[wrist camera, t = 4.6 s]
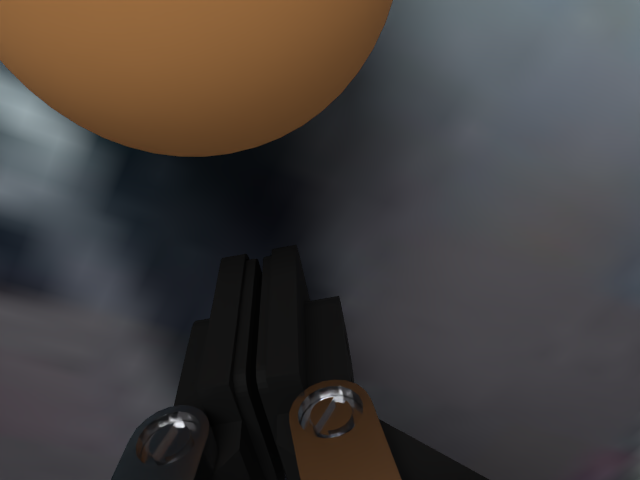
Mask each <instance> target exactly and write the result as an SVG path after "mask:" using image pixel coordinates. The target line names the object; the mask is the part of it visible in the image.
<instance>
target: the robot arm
mask: <svg viewBox="0 0 640 480" xmlns="http://www.w3.org/2000/svg"><path fill="white" fill-rule="evenodd" d="M285 474H286V477H287V480H489V479H487V478H485V477H483V476H481V475H480V474H478V473H476V472H474V471H472V470H471V469H469V468H467V467H465V466H463V465H461V464H460V463H458V462H456V461H454V460H452V459H451V458H449V457H447V456H445V455H443V454H441V453H440V452H438V451H436V450H434V449H432V448H430V447H429V446H427V445H425V444H423V443H421V442H420V441H418V440H416V439H414V438H412V437H410V436H409V435H407V434H405V433H403V432H401V431H400V430H398V429H396V428H394V427H392V426H390V425H389V424H387V423H385V422H383V421H381V420H379V419H378V416H377V414H376V411H375V409H374V406H373V403H372V401H371V399H370V397H369V395H368V394H367V392H366V391H365V390H364V389H363V388H361V387H360V386H359V385H357V384H355V383H354V377H353V370H352V363H351V356H350V350H349V344H348V338H347V333H346V327H345V322H344V317H343V312H342V307H341V302H340V298H339V296H336V297H331V298H325V299H319V300H313V301H310V299H309V294H308V290H307V286H306V282H305V277H304V273H303V269H302V264H301V260H300V256H299V252H298V248H297V246H296V245H293V246H287V247H282V248H276V249H272V254H271V256H268V257H264V259H263V272H261V268H260V265H259V262H258V259H251V260H249V257H248V255H247V254H243V255H237V256H231V257H226V258H222V259H221V263H220V268H219V274H218V279H217V284H216V289H215V295H214V300H213V305H212V310H211V315H210V319H204V320H198V321H195V322H194V324H193V326H192V330H191V334H190V338H189V343H188V347H187V351H186V356H185V360H184V364H183V369H182V373H181V377H180V382H179V386H178V390H177V395H176V399H175V403H174V406H173V407H168V408H166V409H163V410H161V411H158V412H156V413H155V414H153V415H152V416H150V417H149V418H147V419H146V420H145V421H144V422H143V423H142V424H141V425H140V426H138V427H137V428H136V430H135V432H134V433H133V435H132V436H131V438H130V440H129V442H128V444H127V446H126V448H125V450H124V452H123V455H122V457H121V459H120V461H119V463H118V465H117V467H116V470H115V472H114V474H113V476H112V478H111V480H285Z"/></svg>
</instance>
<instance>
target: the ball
mask: <svg viewBox="0 0 640 480" xmlns="http://www.w3.org/2000/svg"><path fill="white" fill-rule="evenodd" d="M392 1H393V0H0V60H1V61H2V63H3V64H4V65H5V66H6V67H7V68H8V69H9V70H10V71H11V72H12V73H13V74H14V75H15V76H16V77H17V78H18V79H19V80H20V81H21V82H22V83H23V84H24V85H25V86H26V87H27V88H28V89H29V90H30V91H31V92H33V93H34V94H35V95H36V96H38V97H39V98H40V99H41V100H43V101H44V102H45V103H46V104H48V105H49V106H50V107H51V108H53V109H54V110H56V111H57V112H59V113H60V114H62V115H63V116H65V117H67V118H68V119H70V120H71V121H73V122H74V123H76V124H77V125H79V126H81V127H83V128H85V129H87V130H89V131H91V132H93V133H95V134H97V135H99V136H101V137H103V138H106V139H108V140H111V141H114V142H116V143H119V144H122V145H124V146H127V147H130V148H135V149H139V150H143V151H147V152H151V153H155V154H163V155H171V156H179V157H206V156H215V155H223V154H230V153H234V152H238V151H242V150H246V149H250V148H254V147H258V146H261V145H263V144H266V143H268V142H271V141H273V140H276V139H278V138H281V137H283V136H284V135H286V134H288V133H290V132H292V131H294V130H295V129H297V128H299V127H301V126H303V125H304V124H305V123H307V122H308V121H309V120H311V119H312V118H314V117H315V116H316V115H318V114H319V113H320V112H322V111H323V110H324V109H325V108H326V107H327V106H328V105H329V104H330V103H331V102H332V101H334V100H335V99H336V98H337V97H338V96H339V95H340V94H341V93H342V92H343V90H344V89H345V88H346V87H347V86H348V84H349V83H350V82H351V81H352V79H353V78H354V77H355V76H356V75H357V73H358V72H359V70H360V69H361V67H362V66H363V64H364V63H365V61H366V59H367V58H368V56H369V55H370V53H371V51H372V50H373V48H374V46H375V44H376V42H377V39H378V37H379V35H380V33H381V31H382V29H383V27H384V25H385V22H386V19H387V16H388V13H389V10H390V7H391V4H392Z"/></svg>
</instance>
